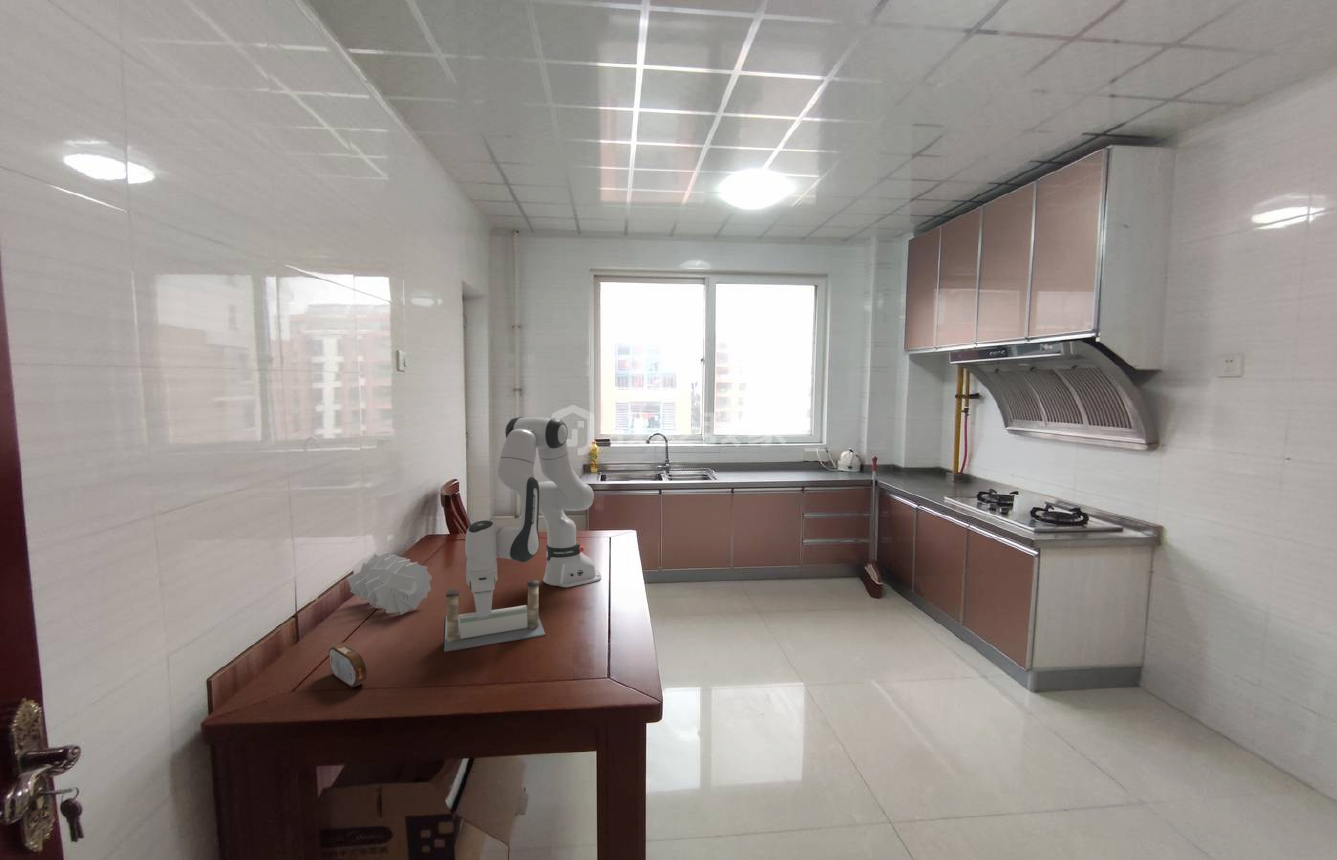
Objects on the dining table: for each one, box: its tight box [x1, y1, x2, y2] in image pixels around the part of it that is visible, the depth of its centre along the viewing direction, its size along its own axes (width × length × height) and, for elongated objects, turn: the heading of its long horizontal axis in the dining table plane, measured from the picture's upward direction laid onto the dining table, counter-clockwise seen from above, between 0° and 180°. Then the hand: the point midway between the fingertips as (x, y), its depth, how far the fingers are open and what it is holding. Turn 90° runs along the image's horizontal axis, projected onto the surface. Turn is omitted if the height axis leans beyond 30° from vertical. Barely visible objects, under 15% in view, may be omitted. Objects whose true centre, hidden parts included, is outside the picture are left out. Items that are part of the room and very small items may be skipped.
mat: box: [443, 604, 546, 653], centre depth 160 cm, size 28×24×1 cm
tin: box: [328, 641, 368, 688], centre depth 128 cm, size 15×3×8 cm, turn 56°
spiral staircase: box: [346, 551, 433, 616], centre depth 173 cm, size 18×18×25 cm
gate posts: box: [445, 579, 540, 643], centre depth 154 cm, size 26×4×15 cm, turn 113°
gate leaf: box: [460, 604, 527, 639], centre depth 154 cm, size 19×2×6 cm, turn 114°
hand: (483, 620), depth 155 cm, fingers closed
